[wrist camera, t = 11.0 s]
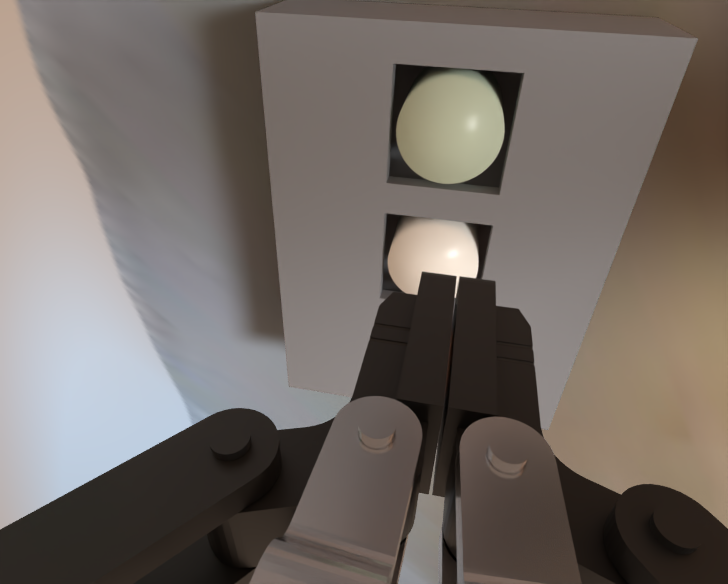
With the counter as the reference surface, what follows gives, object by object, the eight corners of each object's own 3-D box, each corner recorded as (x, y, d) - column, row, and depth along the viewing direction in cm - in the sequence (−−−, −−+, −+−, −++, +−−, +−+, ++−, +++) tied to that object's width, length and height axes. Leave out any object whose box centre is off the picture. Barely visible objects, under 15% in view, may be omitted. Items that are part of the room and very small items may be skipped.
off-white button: (485, 194, 26) (485, 231, 23) (472, 265, 29) (470, 307, 25) (401, 185, 27) (390, 220, 23) (396, 255, 29) (385, 295, 26)
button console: (658, 17, 21) (698, 38, 17) (540, 370, 34) (548, 430, 30) (293, -3, 23) (255, 11, 19) (310, 335, 36) (288, 386, 32)
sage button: (510, 59, 22) (514, 81, 19) (492, 155, 25) (493, 189, 22) (411, 52, 23) (399, 72, 20) (404, 146, 25) (392, 178, 22)
